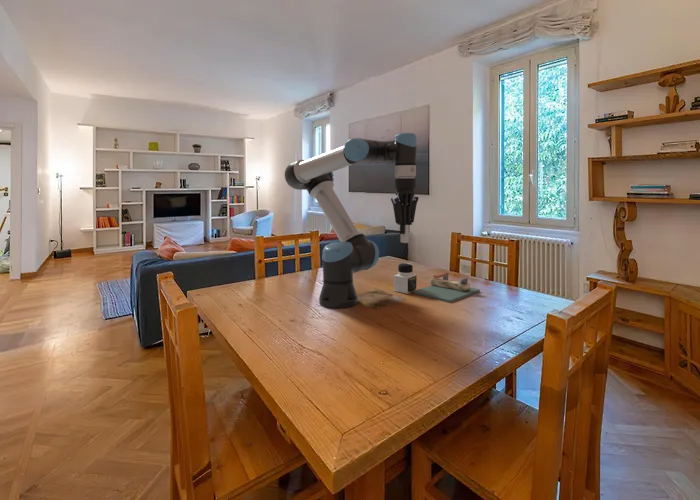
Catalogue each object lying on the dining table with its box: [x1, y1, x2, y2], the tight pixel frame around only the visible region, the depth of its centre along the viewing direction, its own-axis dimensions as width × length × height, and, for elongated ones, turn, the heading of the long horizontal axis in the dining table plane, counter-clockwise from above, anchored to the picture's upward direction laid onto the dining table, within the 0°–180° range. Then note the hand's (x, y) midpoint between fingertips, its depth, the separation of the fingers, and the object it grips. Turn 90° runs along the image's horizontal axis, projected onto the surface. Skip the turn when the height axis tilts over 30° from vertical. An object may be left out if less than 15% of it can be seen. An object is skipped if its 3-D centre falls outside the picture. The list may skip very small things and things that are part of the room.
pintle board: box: [413, 271, 481, 304], centre depth 162 cm, size 22×18×6 cm
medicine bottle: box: [393, 262, 417, 294], centre depth 164 cm, size 7×7×12 cm
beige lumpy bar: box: [429, 277, 471, 291], centre depth 165 cm, size 18×5×2 cm, turn 50°
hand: (404, 242), depth 142 cm, fingers closed
